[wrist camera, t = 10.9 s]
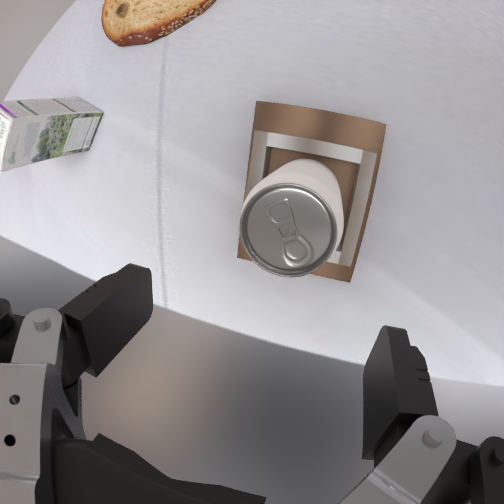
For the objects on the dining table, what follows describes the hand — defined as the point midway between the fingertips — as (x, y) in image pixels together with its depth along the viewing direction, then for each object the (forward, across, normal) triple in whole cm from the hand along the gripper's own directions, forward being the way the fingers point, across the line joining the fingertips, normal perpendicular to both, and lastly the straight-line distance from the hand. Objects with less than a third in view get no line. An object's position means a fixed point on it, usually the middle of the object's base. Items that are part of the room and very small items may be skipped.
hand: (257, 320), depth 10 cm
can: (+20, 0, 0) cm, 20 cm away
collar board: (+22, 0, 0) cm, 22 cm away
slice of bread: (+22, +18, -24) cm, 37 cm away
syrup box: (+22, +29, -5) cm, 37 cm away
